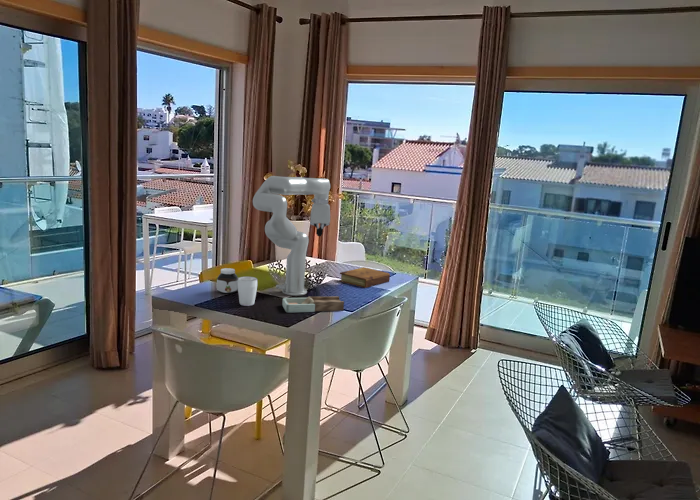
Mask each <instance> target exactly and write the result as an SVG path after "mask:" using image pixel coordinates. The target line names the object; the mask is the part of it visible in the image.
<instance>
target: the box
mask: <svg viewBox="0 0 700 500" xmlns="http://www.w3.org/2000/svg"><path fill="white" fill-rule="evenodd" d="M307 298H308V297H283V298H282V304H281V305H282V307H283V309H284V311H285V312H286V313H315V312H316V311H315V304H302V303H303V302H304V301H305V300H306V299H307ZM288 303H298V304H288Z"/></svg>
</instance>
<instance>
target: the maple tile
mask: <svg viewBox="0 0 700 500" xmlns="http://www.w3.org/2000/svg"><path fill="white" fill-rule="evenodd" d="M310 297H311V296H308V297H306V298H307V299H306V300H305V301H304V302H303V303H302V304H314V301H313V299H312V298H310Z"/></svg>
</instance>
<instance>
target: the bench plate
mask: <svg viewBox="0 0 700 500" xmlns="http://www.w3.org/2000/svg"><path fill="white" fill-rule="evenodd" d="M309 297H310V298H312V299H313V301H314V304H315V312H330V311H331V312H334V311H340V310H341V311H344V310H345V308H344V307H345V305H344V304H345V301H343V300H342V301H341V299H340V296H338V295H337V296H333V295H332V296H309Z"/></svg>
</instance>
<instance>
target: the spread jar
mask: <svg viewBox="0 0 700 500" xmlns="http://www.w3.org/2000/svg"><path fill="white" fill-rule="evenodd" d="M238 278H239V277H238V275H237V274H236V270H235V268H232V267H231V268H230V267H229V268H227V267H225V268H221V269H220V274H218V276H217V278H216V289H217V292H218V293H220V294H221V295H226V294H229V295H234V294H235V293H236V292H238Z"/></svg>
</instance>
